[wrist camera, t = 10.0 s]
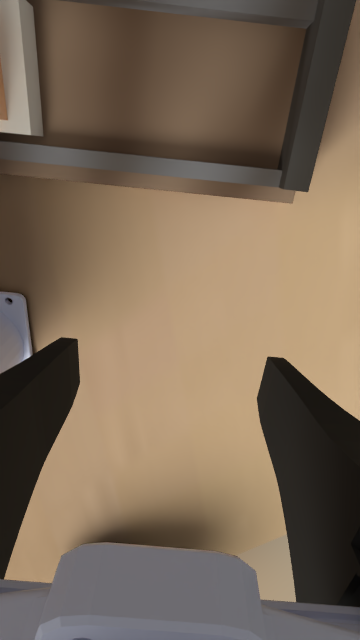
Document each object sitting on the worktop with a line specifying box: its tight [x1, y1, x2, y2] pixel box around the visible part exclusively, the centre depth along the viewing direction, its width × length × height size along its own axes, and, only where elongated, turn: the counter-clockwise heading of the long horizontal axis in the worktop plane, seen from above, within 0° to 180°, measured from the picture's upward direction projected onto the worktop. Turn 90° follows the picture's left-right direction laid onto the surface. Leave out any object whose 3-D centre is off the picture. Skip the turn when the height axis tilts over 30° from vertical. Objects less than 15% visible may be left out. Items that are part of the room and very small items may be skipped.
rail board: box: [0, 0, 356, 203], centre depth 16 cm, size 20×9×4 cm, turn 85°
